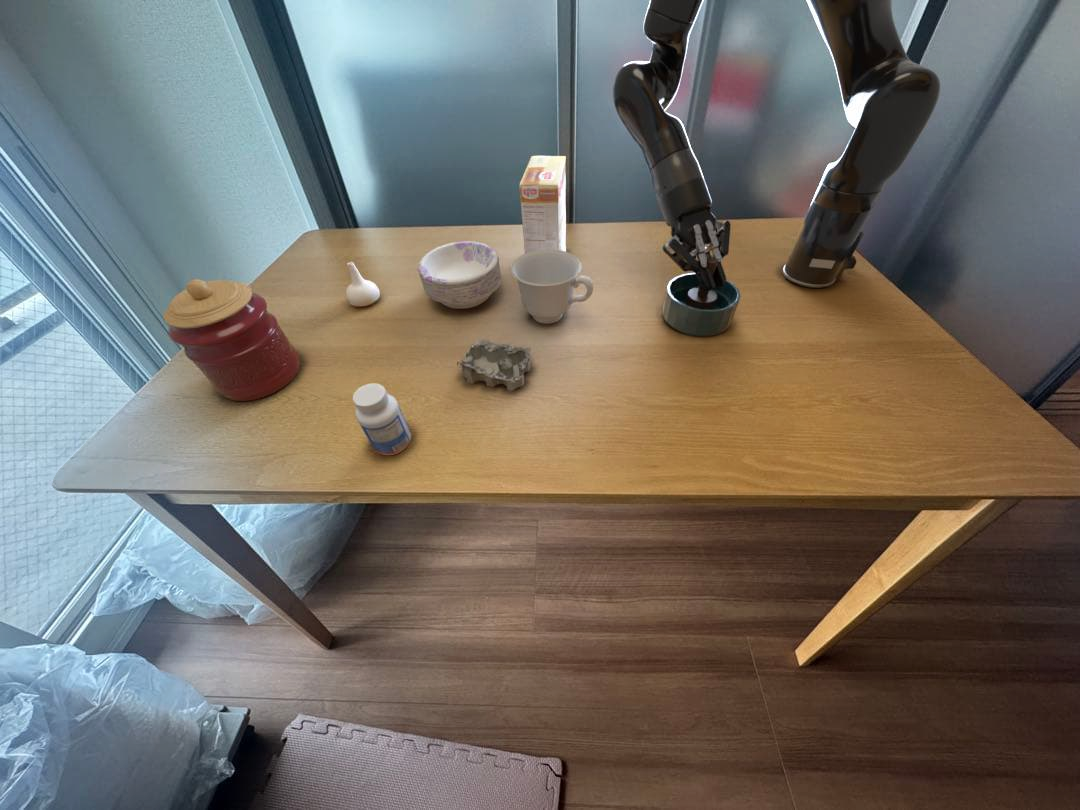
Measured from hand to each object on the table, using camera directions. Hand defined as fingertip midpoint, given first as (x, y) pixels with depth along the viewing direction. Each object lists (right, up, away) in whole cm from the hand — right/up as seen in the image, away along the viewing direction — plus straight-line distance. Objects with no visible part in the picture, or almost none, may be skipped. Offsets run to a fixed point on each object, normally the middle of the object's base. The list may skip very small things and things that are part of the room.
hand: (715, 287), depth 70 cm
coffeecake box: (-28, +10, +20) cm, 36 cm away
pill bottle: (-51, -25, -11) cm, 57 cm away
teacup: (-27, -3, +7) cm, 28 cm away
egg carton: (-37, -15, -2) cm, 39 cm away
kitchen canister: (-76, -15, 0) cm, 78 cm away
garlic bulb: (-65, +1, +14) cm, 66 cm away
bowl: (-1, -4, +5) cm, 7 cm away
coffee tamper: (-1, -2, +5) cm, 5 cm away
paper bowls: (-45, +2, +13) cm, 47 cm away
